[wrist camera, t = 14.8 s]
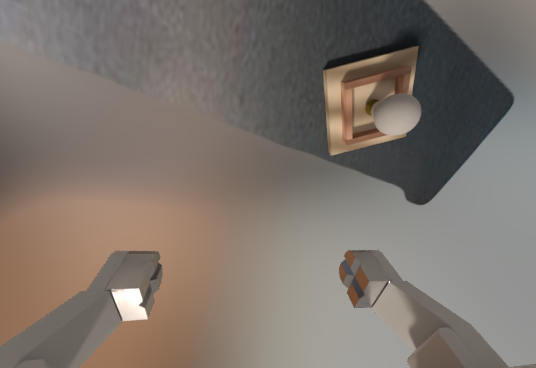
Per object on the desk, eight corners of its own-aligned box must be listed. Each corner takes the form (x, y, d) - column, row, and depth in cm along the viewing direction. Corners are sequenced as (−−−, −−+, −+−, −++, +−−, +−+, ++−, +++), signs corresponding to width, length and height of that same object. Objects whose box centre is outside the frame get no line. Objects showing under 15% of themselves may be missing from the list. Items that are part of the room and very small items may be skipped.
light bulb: (391, 107, 37) (437, 121, 28) (362, 129, 38) (398, 149, 30) (377, 80, 34) (424, 86, 26) (347, 105, 36) (382, 118, 27)
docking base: (322, 70, 34) (331, 70, 31) (411, 46, 34) (428, 45, 31) (328, 152, 41) (335, 159, 38) (400, 134, 41) (413, 139, 38)
